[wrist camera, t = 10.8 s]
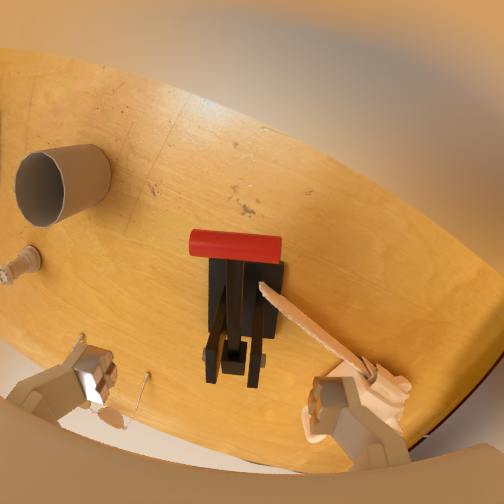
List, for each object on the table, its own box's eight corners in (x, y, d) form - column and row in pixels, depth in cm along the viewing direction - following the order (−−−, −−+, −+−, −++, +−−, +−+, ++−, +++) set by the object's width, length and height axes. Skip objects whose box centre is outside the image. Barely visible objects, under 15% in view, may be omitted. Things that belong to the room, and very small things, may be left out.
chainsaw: (274, 259, 37) (291, 305, 25) (411, 379, 45) (442, 424, 33) (197, 337, 40) (186, 400, 28) (349, 429, 48) (367, 478, 36)
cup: (83, 131, 32) (32, 135, 23) (122, 169, 34) (77, 183, 24) (54, 180, 34) (6, 196, 25) (90, 218, 36) (46, 243, 27)
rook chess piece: (26, 239, 38) (-6, 258, 31) (43, 252, 39) (12, 273, 31) (23, 261, 40) (-6, 281, 32) (40, 274, 40) (11, 296, 33)
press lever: (195, 220, 19) (186, 244, 17) (281, 227, 19) (281, 252, 17) (209, 351, 30) (205, 371, 28) (262, 356, 29) (261, 377, 28)
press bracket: (210, 254, 37) (181, 316, 24) (283, 261, 37) (289, 327, 24) (209, 327, 41) (187, 400, 28) (274, 334, 41) (273, 410, 28)
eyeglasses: (68, 382, 50) (59, 394, 46) (77, 329, 43) (66, 342, 40) (130, 419, 52) (124, 432, 48) (154, 374, 46) (147, 391, 42)
